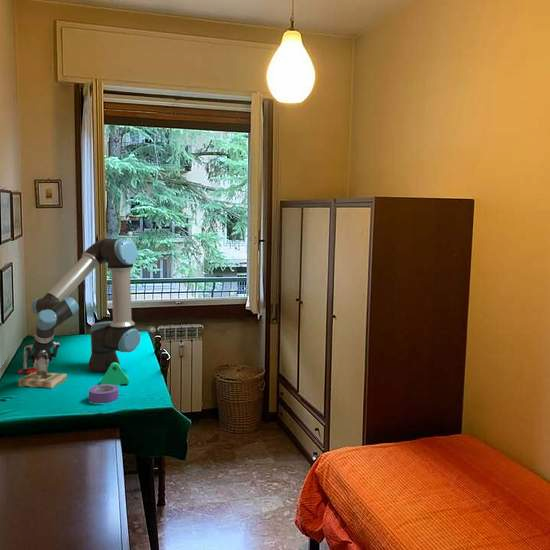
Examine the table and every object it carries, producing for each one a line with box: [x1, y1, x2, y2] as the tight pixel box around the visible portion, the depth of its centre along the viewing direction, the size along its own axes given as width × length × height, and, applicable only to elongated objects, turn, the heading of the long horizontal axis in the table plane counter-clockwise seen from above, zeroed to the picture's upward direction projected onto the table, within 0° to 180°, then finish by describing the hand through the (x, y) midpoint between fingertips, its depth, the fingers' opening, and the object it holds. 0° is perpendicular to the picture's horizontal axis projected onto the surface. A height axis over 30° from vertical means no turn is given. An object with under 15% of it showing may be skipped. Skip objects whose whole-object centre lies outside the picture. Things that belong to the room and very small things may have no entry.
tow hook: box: [17, 346, 37, 375], centre depth 262 cm, size 8×13×9 cm
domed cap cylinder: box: [36, 350, 48, 375], centre depth 243 cm, size 5×5×11 cm
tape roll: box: [88, 384, 119, 404], centre depth 224 cm, size 12×12×5 cm
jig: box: [18, 372, 68, 389], centre depth 245 cm, size 16×12×3 cm
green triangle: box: [100, 362, 130, 386], centre depth 245 cm, size 12×8×10 cm, turn 103°
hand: (40, 364), depth 247 cm, fingers closed on domed cap cylinder, 4 cm apart
